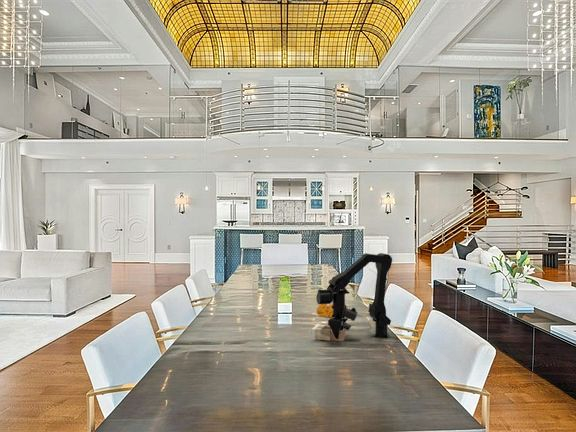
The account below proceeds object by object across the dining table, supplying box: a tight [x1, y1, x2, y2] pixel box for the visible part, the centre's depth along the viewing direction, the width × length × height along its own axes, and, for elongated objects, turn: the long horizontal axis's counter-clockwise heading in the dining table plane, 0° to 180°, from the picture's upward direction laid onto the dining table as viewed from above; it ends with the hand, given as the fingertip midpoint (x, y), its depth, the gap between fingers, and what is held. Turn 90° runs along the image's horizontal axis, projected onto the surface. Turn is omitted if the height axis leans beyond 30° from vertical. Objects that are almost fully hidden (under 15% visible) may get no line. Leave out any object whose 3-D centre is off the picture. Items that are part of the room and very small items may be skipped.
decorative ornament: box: [316, 303, 349, 319], centre depth 247 cm, size 19×5×30 cm
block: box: [315, 324, 332, 342], centre depth 197 cm, size 9×7×5 cm
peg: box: [329, 329, 346, 342], centre depth 195 cm, size 4×10×4 cm, turn 71°
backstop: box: [311, 323, 322, 341], centre depth 198 cm, size 10×2×5 cm, turn 161°
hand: (339, 336), depth 194 cm, fingers open, 8 cm apart
